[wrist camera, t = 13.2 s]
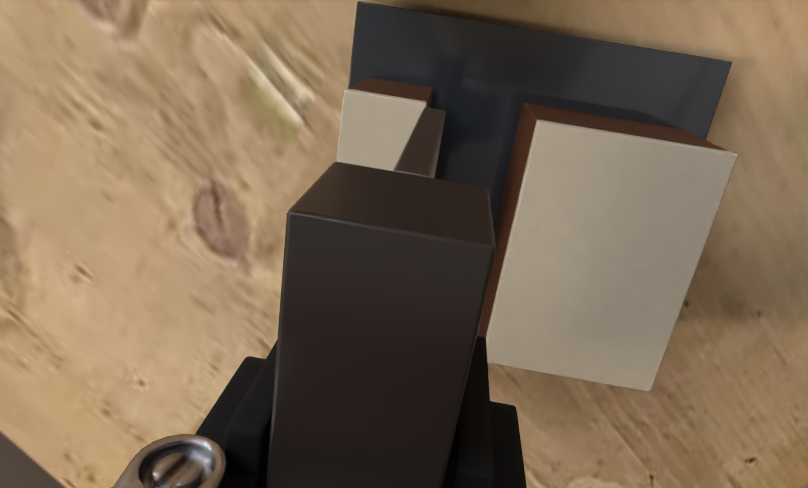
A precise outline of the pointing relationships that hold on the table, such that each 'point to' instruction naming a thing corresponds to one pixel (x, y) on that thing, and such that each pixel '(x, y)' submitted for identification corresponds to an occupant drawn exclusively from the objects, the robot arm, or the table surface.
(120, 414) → the table surface
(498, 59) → the cake board
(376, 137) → the cake slice
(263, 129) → the table surface
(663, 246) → the cake
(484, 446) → the robot arm
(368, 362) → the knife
